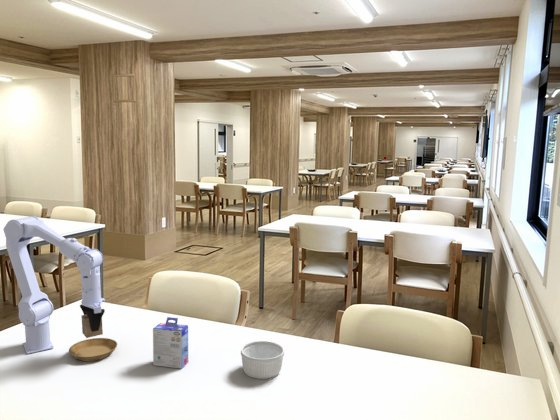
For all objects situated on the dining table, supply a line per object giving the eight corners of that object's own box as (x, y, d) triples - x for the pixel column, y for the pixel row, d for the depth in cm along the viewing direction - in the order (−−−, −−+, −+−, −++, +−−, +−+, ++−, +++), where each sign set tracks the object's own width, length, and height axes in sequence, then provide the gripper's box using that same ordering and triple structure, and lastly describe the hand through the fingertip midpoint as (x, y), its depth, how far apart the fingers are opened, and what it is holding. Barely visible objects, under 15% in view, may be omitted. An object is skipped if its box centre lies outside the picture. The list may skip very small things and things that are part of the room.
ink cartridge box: (189, 361, 149) (189, 317, 147) (182, 369, 144) (181, 324, 142) (160, 358, 151) (159, 315, 149) (152, 365, 146) (151, 321, 144)
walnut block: (82, 333, 153) (81, 315, 152) (98, 329, 156) (97, 312, 155) (86, 338, 149) (85, 320, 149) (102, 334, 152) (101, 316, 151)
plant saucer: (100, 341, 164) (100, 334, 164) (126, 352, 156) (126, 344, 155) (60, 356, 152) (59, 348, 152) (85, 369, 144) (85, 360, 143)
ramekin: (290, 366, 147) (291, 345, 146) (272, 385, 135) (272, 362, 134) (253, 358, 152) (253, 337, 152) (232, 375, 141) (232, 353, 140)
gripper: (110, 291, 147) (112, 332, 149) (97, 280, 159) (99, 318, 161) (86, 295, 143) (88, 337, 145) (75, 283, 155) (77, 323, 157)
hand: (92, 328), depth 153 cm, fingers closed on walnut block, 5 cm apart
